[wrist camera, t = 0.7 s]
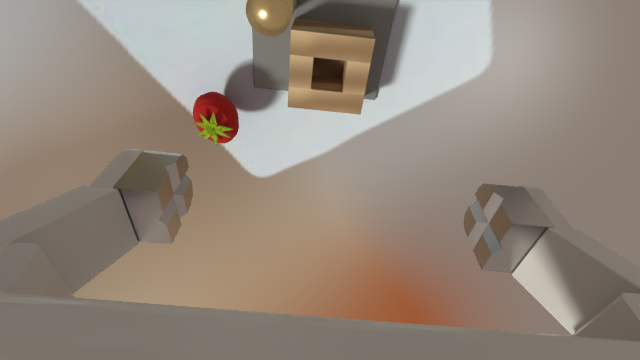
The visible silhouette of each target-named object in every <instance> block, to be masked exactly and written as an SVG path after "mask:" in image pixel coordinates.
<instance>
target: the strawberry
mask: <svg viewBox="0 0 640 360" xmlns="http://www.w3.org/2000/svg"><path fill="white" fill-rule="evenodd" d="M193 118H194V121H195V124H196V126H197V127H198V129H199V130H200V131H201V132H200V133H199V134H197V135H205V140H206V139H207V138H208V139H210V140H212V141H214V143H215V145H217V143H227V142H229V141H231V140H232V139H233V138H234V137H235V136H236V134H237V132H238V128H239V122H238V114H237V111H236V108H235V107H234V105H233V104H232V102H231V101H230V100H229V99H228V98H227V97H225V96H224V95H222V94H220V93H217V92H209V93H206V94H204V95H201V96H200V97H198V98H197V100H196V102H195V104H194V108H193Z"/></svg>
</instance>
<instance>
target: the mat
mask: <svg viewBox="0 0 640 360" xmlns="http://www.w3.org/2000/svg"><path fill="white" fill-rule="evenodd" d="M396 3H397V0H298V1H297V4H296V7H295V10H294V12H293V15H292V18H291V20H290V23H289V26H288V27H287V29H286V30H285V31H284V32H283V33H281V34H280V35H277V36H272V37H270V36H265V35H262V34H260V33H258V32H257V31H256V30H255V29H254V28H253V27H252V33H253V63H254V87H258V88H267V89H277V90H286V91H289V67H290V41H291V28H292V25H293V22H294V19H295V18H296V19H305V20H314V21H322V22H331V23H340V24H349V25H357V26H366V27H372V30H373V33H374V36H375V44H374V49H373V54H372V59H371V64H370V69H369V74H368V79H367V84H366V89H365V94H364V99H372V100H375V97H376V92H377V88H378V83H379V79H380V74H381V70H382V65H383V61H384V56H385V52H386V48H387V43H388V39H389V34H390V30H391V25H392V21H393V16H394V12H395V7H396Z"/></svg>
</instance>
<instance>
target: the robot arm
mask: <svg viewBox="0 0 640 360" xmlns="http://www.w3.org/2000/svg"><path fill="white" fill-rule="evenodd" d="M188 168H189V166H188V161H187V158H186V157H185V156H184V155H182V154H173V153H164V152H156V151H147V150H146V151H144V150H137V149H124V150H122V151H121V152H120V153H119V154H118V155H117V156H116V157H115V158H114V159H113V160H112V161H111V163H110V164H109V165H108V166H107V167H106V168H105V169H104V170H103V172H101V174H100V175H99V176H98V177H97V178H96V179H95V180H94V182H92V183H91V185H90V186H81V187H78V188H76V189H74V190H71V191H69V192H67V193H64V194H62V195H60V196H57V197H55V198H52V199H50V200H48V201H45V202H43V203H41V204H38V205H36V206H34V207H31V208H29V209H27V210H25V211H22V212H20V213H17V214H15V215H13V216H10V217H8V218H6V219H3V220H1V221H0V360H640V267H638V266H637V265H635V264H633V263H631V262H630V261H628V260H627V259H625V258H624V257H622V256H620V255H619V254H617V253H616V252H614V251H612V250H611V249H609V248H607V247H606V246H604V245H603V244H601V243H599V242H598V241H596V240H594V239H593V238H591V237H589V236H588V235H586V234H585V233H583V232H581V231H579V230H574V229H573V228H572V227H571V225H570V224H569V223H568V221H567V220H566V219H565V218H564V217H563V215H562V214H561V213H560V211H559V210H558V209H557V207H556V206H555V205H554V204H553V202H552V201H551V200H550V198H549V197H548V196H547V195H546V193H545V192H544V191H543V190H541V189H540V188H537V187H525V186H519V187H516V186H505V185H494V184H482V185H481V186H480V187H479V188H478V190H477V192H476V194H475V195H476V199H477V201H476V202H474V203H473V204H471V205H470V206H469V207H468V209H467V211H466V213H465V217H464V229H465V232H466V235H467V237H468V239H470V240H471V241H472V242H473V243H474V244H476V245H475V247H474V249H473V252H474V254H475V256H476V258H477V261H478V263H479V265H480V268H481V270H486V271H495V272H505V273H513V274H512V276H513V277H515V278H516V279H517V281H518V282H520V284H521V285H522V286H524V287H525V288H526V290H528V291H529V292H530V293H531V294H532V295H533V296H534V297H535V298H536V299H537V300H538V301H539V302H540V303H541V304H542V305H543V306H544V307H545V308H546V309H547V310H548V311H549V312H550V313H551V314H552V315H553V316H554V317H555V318H556V319H557V320H558V321H559V322H560V323H561V324H562V325H563V326H564V327H565V328H566V329H567V330H568V331H569V332H570V333H571V334H572V336H565V335H551V334H539V333H526V332H513V331H500V330H487V329H473V328H460V327H446V326H433V325H420V324H406V323H393V322H380V321H368V320H355V319H342V318H329V317H316V316H302V315H291V314H278V313H265V312H251V311H238V310H225V309H213V308H200V307H186V306H174V305H160V304H147V303H134V302H122V301H109V300H96V299H82V298H75V297H74V296H73V295H72V294H73V293H74V292H76V291H77V290H78V289H80V288H81V287H82V286H84V285H85V284H86V283H87V282H89V281H90V280H91V279H93V278H94V277H95V276H97V275H98V274H99V273H101V272H102V271H103V270H105V269H106V268H107V267H109V266H110V265H111V264H113V263H114V262H115V261H116V260H118V259H119V258H120V257H122V256H123V255H124V254H126V253H127V252H128V251H130V250H131V249H132V248H133V247H135V246H136V245H138V244H139V243H138V242H149V243H166V244H172V242H173V241H174V238H175V236H176V235H177V232H178V230H179V229H180V226H181V222H180V217H182V216H183V215H185V214H186V213H187V212H188V210H189V207H190V205H191V201H192V196H193V188H192V181H191V180H190V179H189V178H188V177H187V176H186V175H185V174H186V172H187V170H188Z"/></svg>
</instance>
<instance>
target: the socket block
mask: <svg viewBox="0 0 640 360" xmlns="http://www.w3.org/2000/svg"><path fill="white" fill-rule="evenodd" d="M374 44H375V36H374V33H373V30H372V27H366V26H357V25H349V24H340V23H331V22H322V21H314V20H305V19H296V18H295V19H294V22H293V25H292V28H291V41H290V67H289V92H288V107H293V108H303V109H313V110H322V111H332V112H342V113H351V114H361V109H362V104H363V99H364V94H365V89H366V84H367V79H368V74H369V69H370V64H371V59H372V54H373V49H374Z"/></svg>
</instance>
